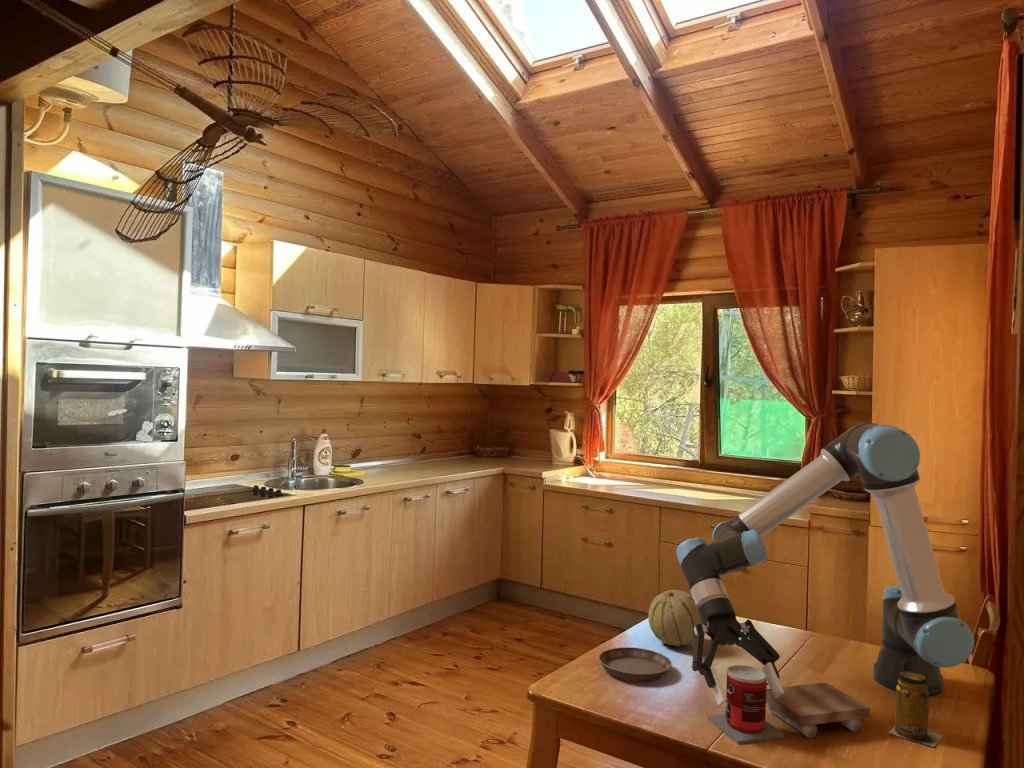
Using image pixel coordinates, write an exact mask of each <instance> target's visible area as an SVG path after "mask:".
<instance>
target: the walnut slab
mask: <svg viewBox="0 0 1024 768" xmlns="http://www.w3.org/2000/svg"><path fill="white" fill-rule="evenodd" d="M782 689H783V691H784V694H782V695H781V696H780V697H779V698H775V697H774V695H773V692H772V690H771V688H766V704H767V709H768V710H769V712H770V713H772V714H774V715H775V716H776V717H778V718H779V719H780V720H782V721H784V723H787V724H788V725H789V726H791V727H792V728H793V729H795V730H797V732H799V733H801V734H802V735H803V736H804V737H806V738H807V739H813V738H815V737H816V735H817V733H818V726H817V725H819V724H829V723H835V722H837V723H839V724H840V725H841V726H844V728H846V729H848V730H849V731H850V732H853V733H857V732H859V731H860V730H861V728H862V725H863V723H862V720H861V719H865V718H866V719H867V718H870V714H871V707H870V706H868V705H867V704H865V703H863V702H861V701H860V700H857V699H856V698H854V697H853V696H851V695H849V694H847V693H846V692H844V691H842V690H841V689H839V688H837V687H835V686H833V685H832V684H830V683H829V682H817V683H808V684H800V685H799V684H798V685H793V686H792V685H791V686H783V687H782Z"/></svg>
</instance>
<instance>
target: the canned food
mask: <svg viewBox="0 0 1024 768" xmlns="http://www.w3.org/2000/svg"><path fill="white" fill-rule="evenodd" d="M767 682H768V681H767V678H766V674H765V673H764V671H763V670H761V669H760V668H757V667H753V666H748V665H740V664H739V665H731V666H729V667H727V671H726V689H725V691H726V693H725V695H726V698H727V700H726V701H725V714H726V721H727V724H728V725H729V726H730V727H731V728H733V729H735V730H737V731H740V732H744V733H759V732H761V731H763V729H764V727H765V720H766V715H767V714H766V711H767V709H766V708H767V703H766V689H768V688H767V686H768V685H767Z"/></svg>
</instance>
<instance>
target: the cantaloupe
mask: <svg viewBox="0 0 1024 768" xmlns="http://www.w3.org/2000/svg"><path fill="white" fill-rule="evenodd" d="M647 619H648V624H649V627H650V630H651V631H652V634H653V635H654V636H655V638H656V639H657V640H659V642H660V641H661V642H662V643H664V644H665V645H668V646H673V647H681V646H687V645H689V644H691V643H694V640H695V638H694V634H693V629H694V628H695V626H696V625H697V624H701V625H702V626H704V625H703V623H702V621H701V618H700V615H699V613H698V608H697V607H696V604H695V602H694V599H693V597H692V594H690V593H688V592H686V591H683V590H680V589H671V590H670V589H669V590H667V591H666V590H665V591H663V592H661V593H660V594H658V595H657V596H655V597H654V598H653V600H652V601H651V603H650V606H649V609H648V617H647Z"/></svg>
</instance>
